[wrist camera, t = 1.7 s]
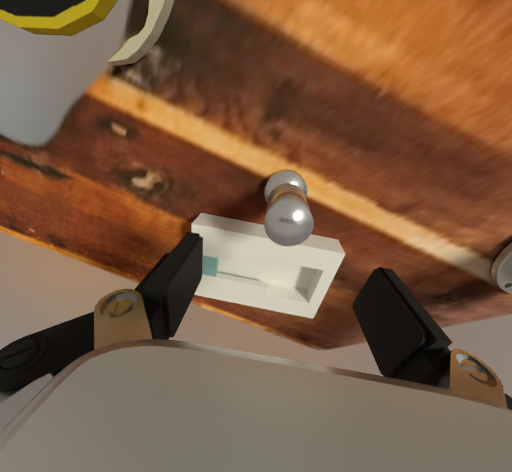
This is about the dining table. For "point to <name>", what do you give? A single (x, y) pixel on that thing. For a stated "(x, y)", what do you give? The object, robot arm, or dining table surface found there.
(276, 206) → the steel peg
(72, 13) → the wall ornament
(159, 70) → the dining table surface
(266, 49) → the dining table surface
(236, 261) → the keyhole plate
